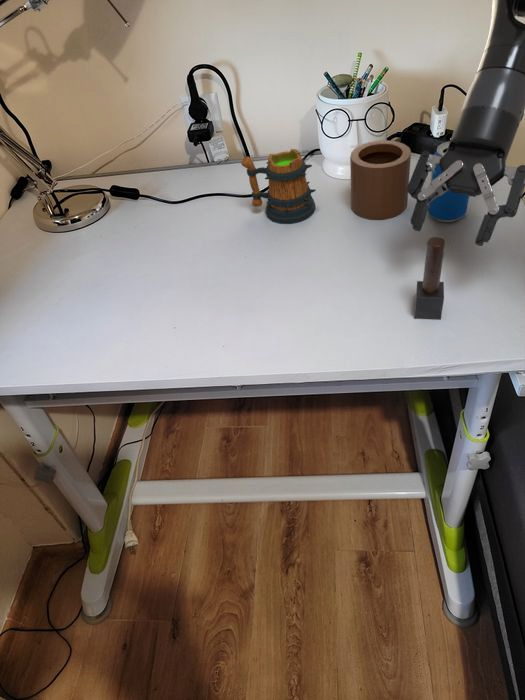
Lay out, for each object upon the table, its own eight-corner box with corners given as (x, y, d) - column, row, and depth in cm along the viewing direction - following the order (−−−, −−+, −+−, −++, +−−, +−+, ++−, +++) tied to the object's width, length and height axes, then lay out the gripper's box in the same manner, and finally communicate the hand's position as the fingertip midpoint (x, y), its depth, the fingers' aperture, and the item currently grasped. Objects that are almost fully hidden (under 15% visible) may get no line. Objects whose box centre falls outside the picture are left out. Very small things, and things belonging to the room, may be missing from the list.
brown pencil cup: (408, 190, 97) (411, 139, 90) (406, 220, 90) (410, 167, 83) (354, 191, 100) (353, 141, 93) (348, 220, 93) (347, 168, 86)
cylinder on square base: (440, 303, 75) (450, 233, 66) (440, 319, 72) (451, 249, 64) (415, 301, 75) (422, 233, 67) (414, 318, 73) (421, 249, 65)
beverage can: (424, 206, 92) (430, 142, 84) (461, 202, 92) (471, 137, 83) (431, 226, 88) (438, 160, 79) (469, 222, 87) (481, 155, 79)
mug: (316, 194, 101) (312, 136, 93) (317, 222, 94) (313, 163, 86) (251, 200, 103) (242, 145, 94) (248, 228, 96) (237, 171, 87)
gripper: (431, 98, 66) (389, 219, 69) (549, 109, 60) (498, 243, 62) (441, 122, 73) (403, 232, 75) (549, 134, 66) (503, 255, 68)
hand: (446, 237), depth 69 cm, fingers open, 8 cm apart
